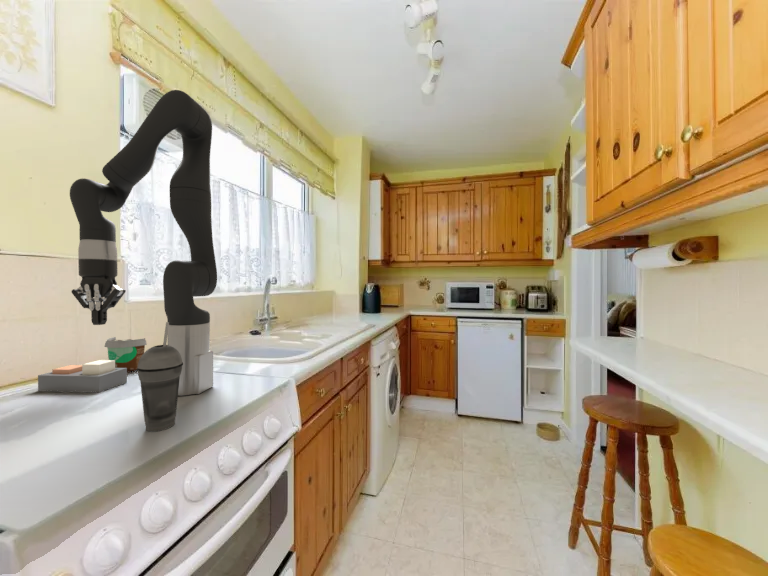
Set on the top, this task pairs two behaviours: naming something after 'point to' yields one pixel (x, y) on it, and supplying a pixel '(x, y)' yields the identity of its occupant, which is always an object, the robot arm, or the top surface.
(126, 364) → the food container
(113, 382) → the key console
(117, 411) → the top surface
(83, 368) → the cream key
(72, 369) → the terracotta key
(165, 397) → the beverage cup
